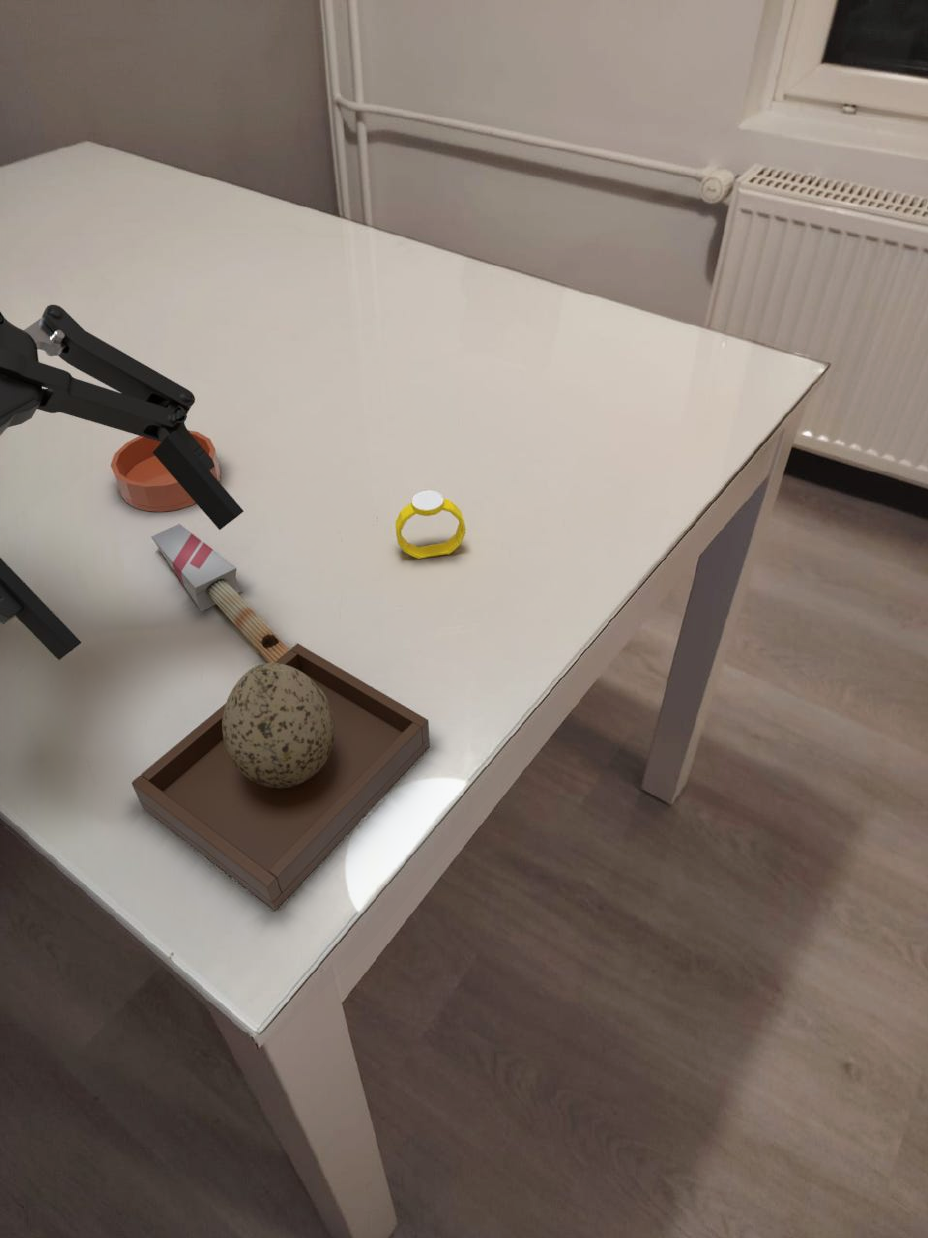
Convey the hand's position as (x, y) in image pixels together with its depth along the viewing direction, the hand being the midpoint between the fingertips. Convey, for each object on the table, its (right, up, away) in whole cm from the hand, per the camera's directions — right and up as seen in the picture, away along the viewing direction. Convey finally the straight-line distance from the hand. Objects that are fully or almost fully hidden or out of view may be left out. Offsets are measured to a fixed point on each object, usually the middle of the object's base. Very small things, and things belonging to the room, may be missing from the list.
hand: (157, 581), depth 53 cm
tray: (+7, -13, +7) cm, 17 cm away
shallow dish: (-10, +11, +32) cm, 35 cm away
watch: (+16, +3, +24) cm, 29 cm away
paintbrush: (-1, -1, +20) cm, 20 cm away
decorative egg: (+7, -13, +7) cm, 16 cm away
